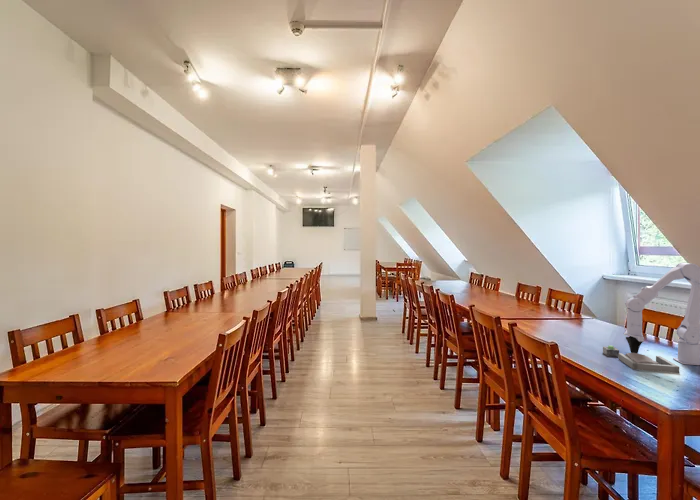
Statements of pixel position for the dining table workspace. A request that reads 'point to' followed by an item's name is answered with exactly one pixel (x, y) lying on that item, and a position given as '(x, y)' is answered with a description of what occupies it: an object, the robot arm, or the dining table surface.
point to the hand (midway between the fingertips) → (634, 353)
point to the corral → (664, 367)
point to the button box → (610, 351)
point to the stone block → (640, 358)
